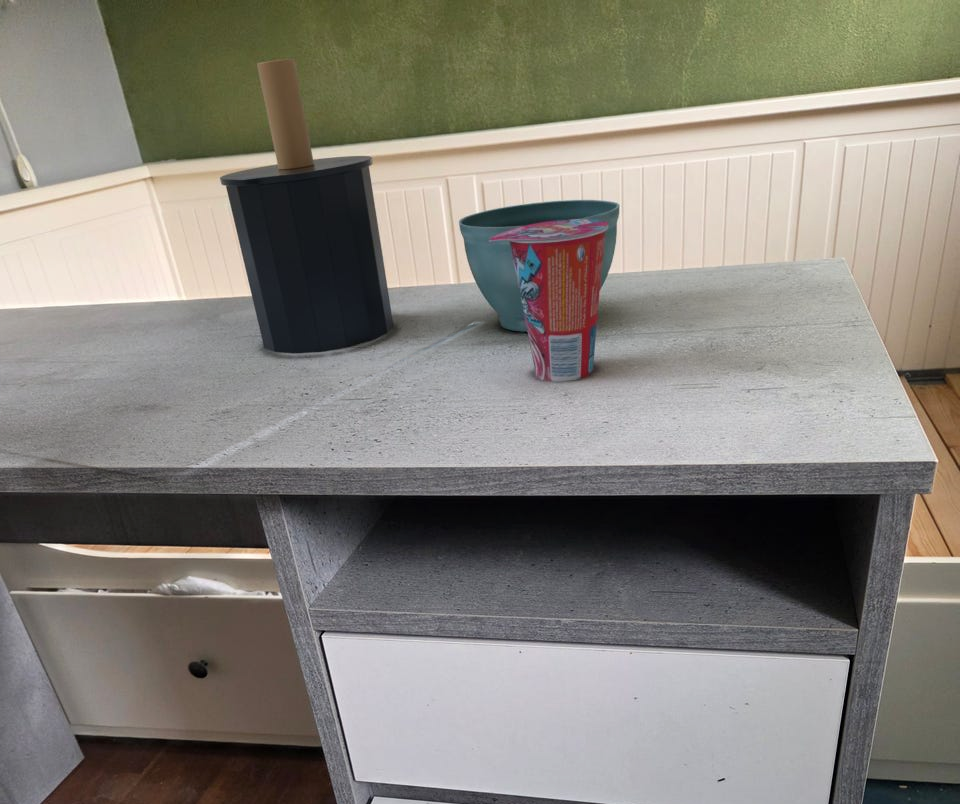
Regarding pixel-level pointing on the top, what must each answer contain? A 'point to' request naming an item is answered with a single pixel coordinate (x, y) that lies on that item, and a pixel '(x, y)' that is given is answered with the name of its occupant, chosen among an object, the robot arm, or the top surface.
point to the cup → (559, 292)
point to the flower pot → (495, 257)
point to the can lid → (289, 134)
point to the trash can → (313, 261)
